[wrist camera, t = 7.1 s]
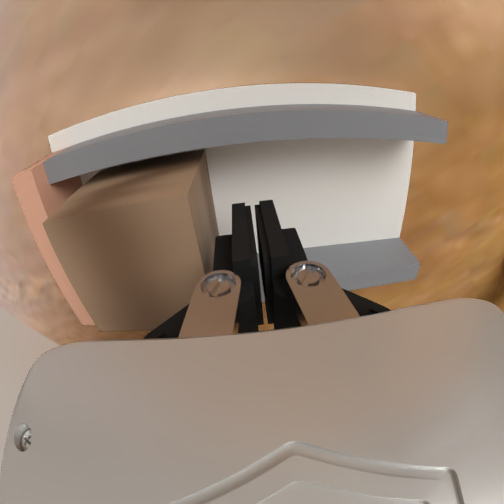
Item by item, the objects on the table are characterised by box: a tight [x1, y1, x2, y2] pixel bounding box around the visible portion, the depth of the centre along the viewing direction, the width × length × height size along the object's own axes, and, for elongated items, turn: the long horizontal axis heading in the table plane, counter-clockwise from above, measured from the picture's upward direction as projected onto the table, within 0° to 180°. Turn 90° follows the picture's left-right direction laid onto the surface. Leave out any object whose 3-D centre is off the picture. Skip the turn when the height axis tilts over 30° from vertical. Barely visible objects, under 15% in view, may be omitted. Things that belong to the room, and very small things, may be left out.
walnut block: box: [42, 149, 219, 331], centre depth 12 cm, size 6×6×6 cm
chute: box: [11, 83, 448, 325], centre depth 14 cm, size 21×12×5 cm, turn 95°
